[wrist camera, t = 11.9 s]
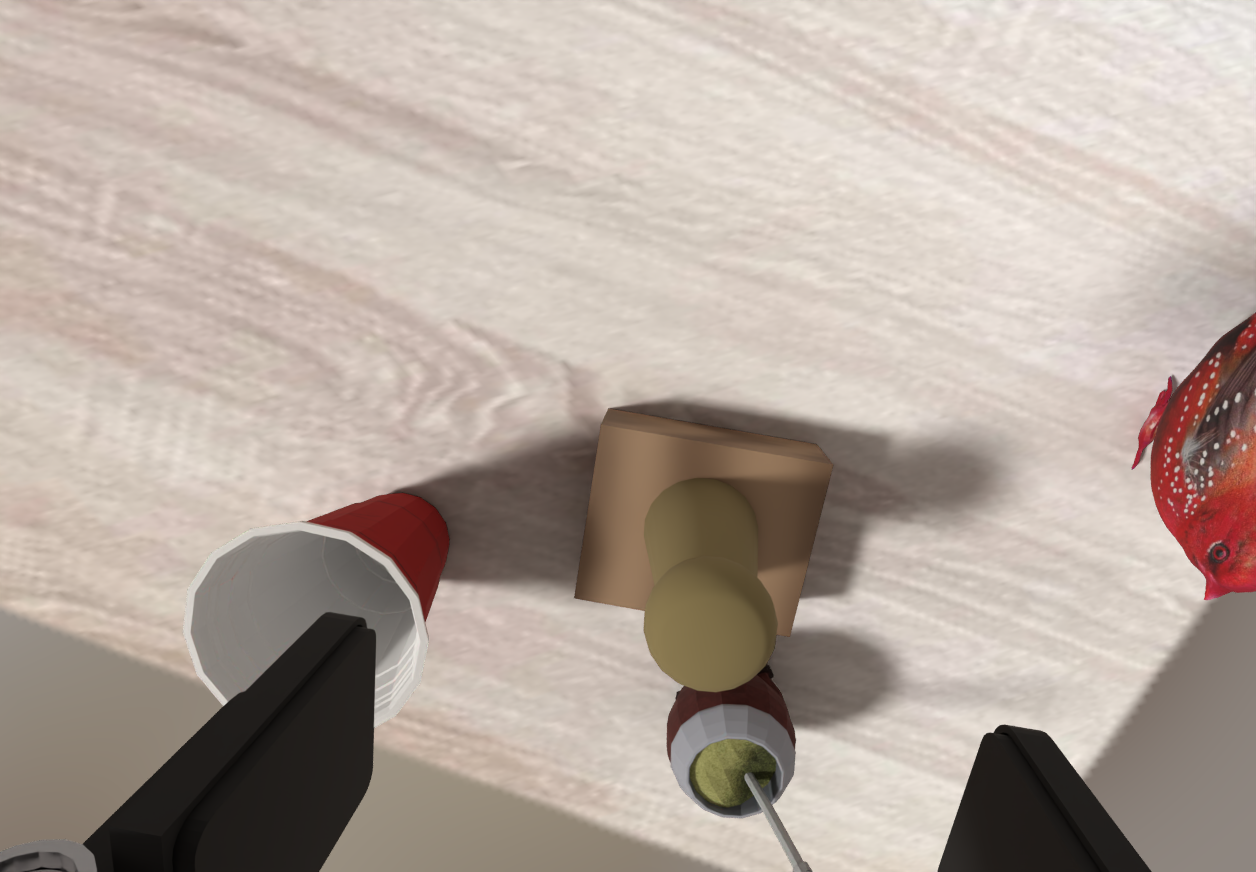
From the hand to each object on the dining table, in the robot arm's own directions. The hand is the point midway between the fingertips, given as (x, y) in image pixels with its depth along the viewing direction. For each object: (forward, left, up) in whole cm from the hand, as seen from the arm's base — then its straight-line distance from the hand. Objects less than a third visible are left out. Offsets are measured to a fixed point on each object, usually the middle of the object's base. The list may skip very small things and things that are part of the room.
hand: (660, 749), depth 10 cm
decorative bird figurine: (-26, -5, -28) cm, 39 cm away
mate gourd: (-7, +17, -28) cm, 34 cm away
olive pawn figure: (-3, +6, -24) cm, 25 cm away
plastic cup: (+14, +11, -28) cm, 34 cm away
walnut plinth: (-3, +6, -28) cm, 29 cm away
